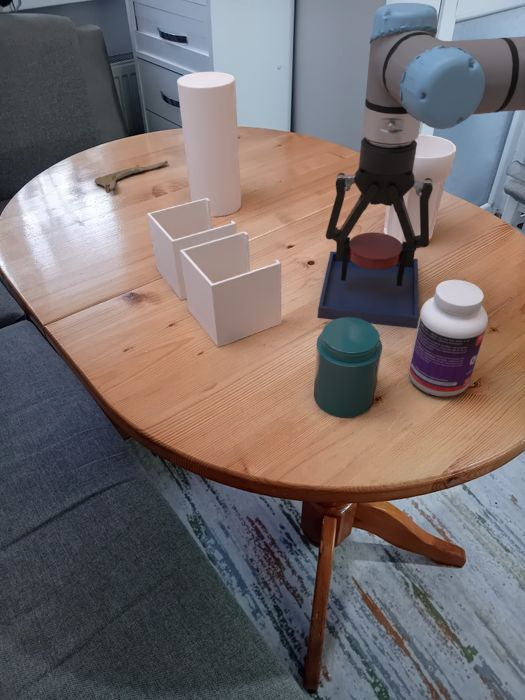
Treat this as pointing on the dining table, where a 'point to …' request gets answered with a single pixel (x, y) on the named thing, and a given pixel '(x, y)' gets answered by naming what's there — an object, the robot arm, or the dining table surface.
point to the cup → (429, 163)
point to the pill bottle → (448, 338)
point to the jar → (347, 367)
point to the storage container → (215, 272)
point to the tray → (370, 294)
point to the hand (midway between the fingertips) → (371, 278)
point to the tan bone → (123, 175)
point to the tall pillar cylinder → (211, 139)
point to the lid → (375, 251)
